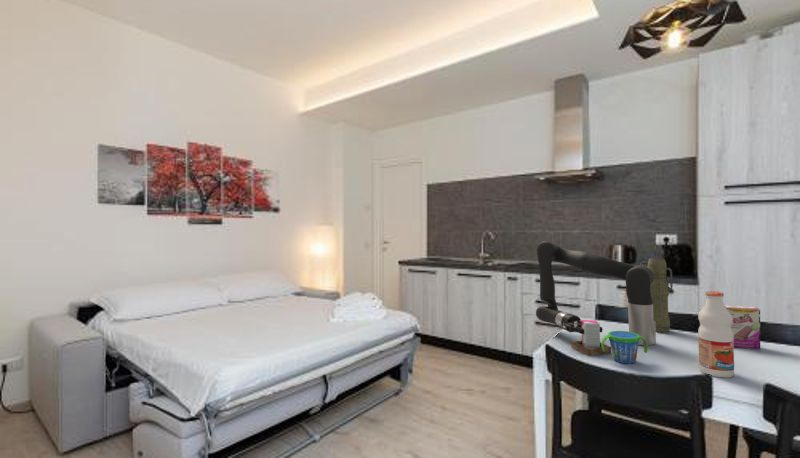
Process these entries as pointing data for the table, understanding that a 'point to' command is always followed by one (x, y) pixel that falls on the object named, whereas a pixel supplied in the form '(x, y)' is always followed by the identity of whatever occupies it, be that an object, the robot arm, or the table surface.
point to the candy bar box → (745, 326)
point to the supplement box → (591, 334)
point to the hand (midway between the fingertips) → (592, 330)
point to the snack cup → (624, 345)
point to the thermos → (660, 293)
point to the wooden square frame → (590, 349)
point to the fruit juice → (716, 337)
